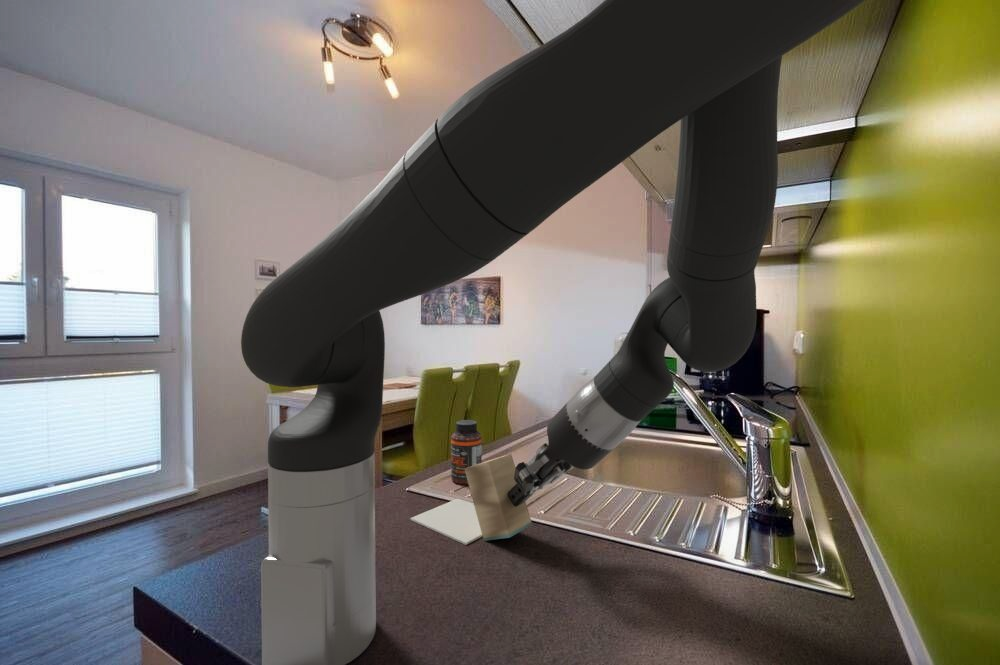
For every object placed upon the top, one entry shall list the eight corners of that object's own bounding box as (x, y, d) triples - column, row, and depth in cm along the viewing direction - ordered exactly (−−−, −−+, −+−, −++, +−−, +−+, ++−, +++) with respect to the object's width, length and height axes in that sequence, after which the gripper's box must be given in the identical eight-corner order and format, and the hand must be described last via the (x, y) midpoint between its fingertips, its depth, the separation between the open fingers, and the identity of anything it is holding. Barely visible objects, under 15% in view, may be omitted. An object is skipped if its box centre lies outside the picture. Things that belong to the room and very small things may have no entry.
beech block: (532, 524, 60) (511, 453, 62) (509, 538, 56) (488, 461, 59) (507, 528, 63) (487, 460, 65) (483, 541, 59) (464, 468, 62)
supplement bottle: (444, 482, 82) (444, 423, 82) (461, 473, 87) (461, 417, 87) (471, 487, 79) (471, 426, 79) (487, 477, 85) (487, 420, 85)
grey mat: (512, 519, 66) (512, 517, 66) (466, 545, 58) (465, 542, 58) (457, 500, 73) (457, 498, 73) (410, 520, 66) (410, 518, 66)
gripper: (585, 460, 44) (497, 542, 52) (638, 436, 54) (557, 508, 62) (543, 404, 48) (466, 489, 56) (599, 391, 58) (527, 464, 66)
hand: (514, 499), depth 59 cm, fingers closed
